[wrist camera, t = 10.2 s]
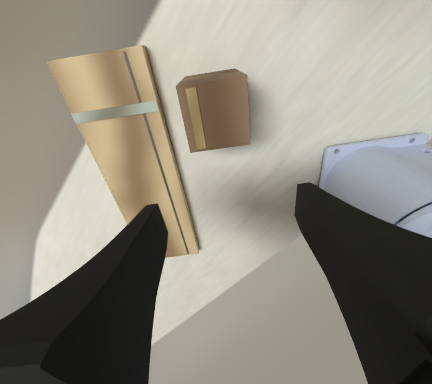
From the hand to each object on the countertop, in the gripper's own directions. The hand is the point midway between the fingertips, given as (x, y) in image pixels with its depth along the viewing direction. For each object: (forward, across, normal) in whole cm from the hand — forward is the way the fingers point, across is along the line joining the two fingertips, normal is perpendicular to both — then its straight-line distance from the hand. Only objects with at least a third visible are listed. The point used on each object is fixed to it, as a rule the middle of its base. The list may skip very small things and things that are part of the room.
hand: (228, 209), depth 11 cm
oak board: (+10, +8, +3) cm, 13 cm away
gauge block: (+10, 0, -4) cm, 11 cm away
